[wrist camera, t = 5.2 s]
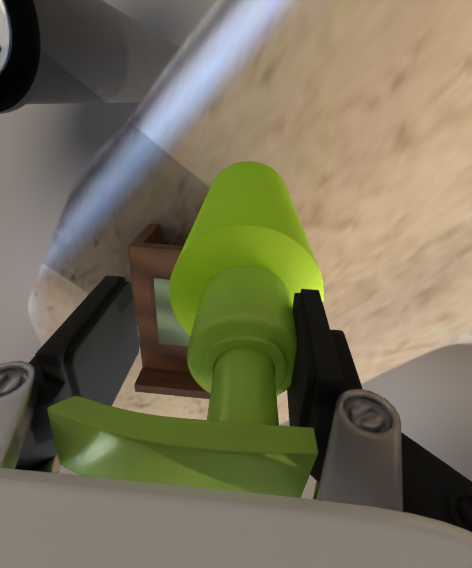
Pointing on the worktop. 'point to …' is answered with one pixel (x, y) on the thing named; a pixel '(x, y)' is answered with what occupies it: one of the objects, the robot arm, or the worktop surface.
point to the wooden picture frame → (159, 319)
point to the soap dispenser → (218, 355)
